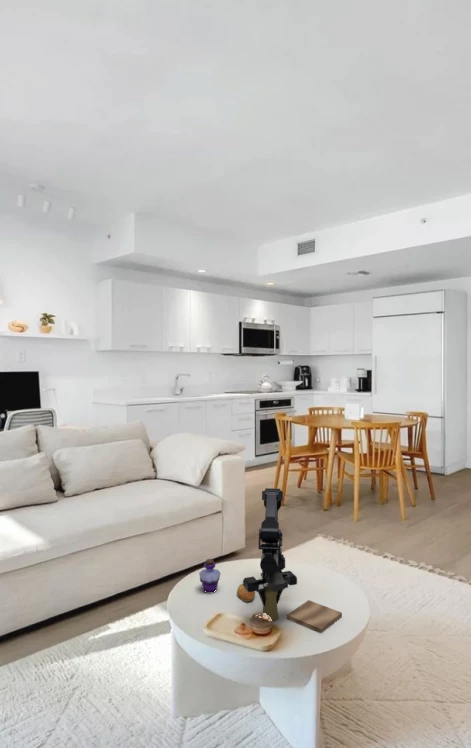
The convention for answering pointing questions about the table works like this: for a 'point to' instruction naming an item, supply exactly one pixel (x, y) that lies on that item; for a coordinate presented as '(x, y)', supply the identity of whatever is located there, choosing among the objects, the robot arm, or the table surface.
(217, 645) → the table surface
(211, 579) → the potion bottle
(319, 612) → the walnut board
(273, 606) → the olive rounded upright piece
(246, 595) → the pastry
